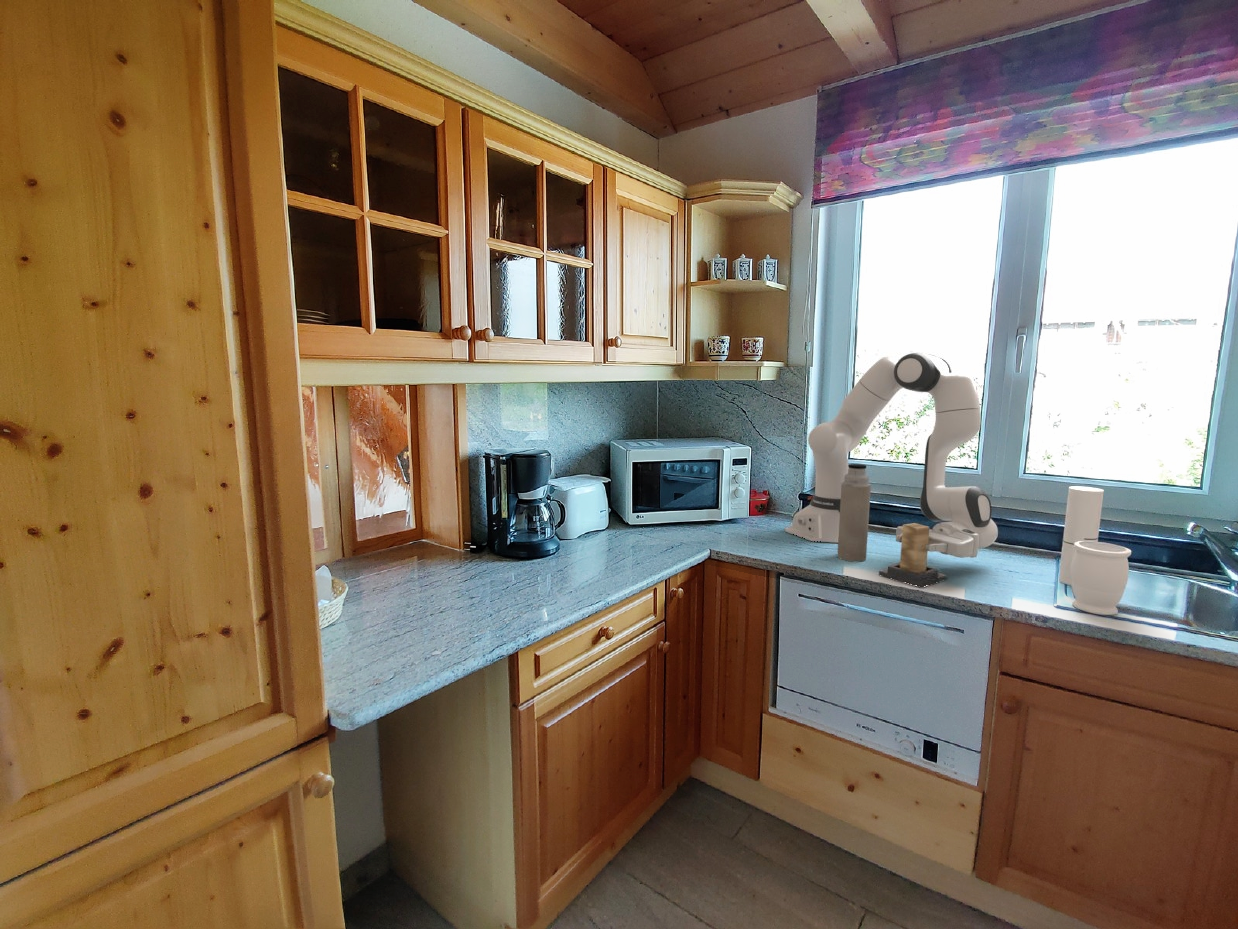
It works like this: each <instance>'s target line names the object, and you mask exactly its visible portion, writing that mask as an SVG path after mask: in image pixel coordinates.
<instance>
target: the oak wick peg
mask: <svg viewBox="0 0 1238 929" xmlns="http://www.w3.org/2000/svg"><path fill="white" fill-rule="evenodd" d="M902 526H903V530H902V543H901V545H900V546H901V548H900V560H899V563H900V568H901V569H904V570H908V571H911V572H915V573H922V572H925V571H926V566H927V562H928V552H929V551H927V550H926V544H928V539H929V529H930V526H928V525H924V524H920V523H917V522H913V523H912V522H911V523H906V524H902Z"/></svg>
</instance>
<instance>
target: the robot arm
mask: <svg viewBox="0 0 1238 929" xmlns="http://www.w3.org/2000/svg"><path fill="white" fill-rule="evenodd" d="M901 389H905V390H909V391H913V392H915V393H916V392H917V393H928V394H930V395H931V397H932V399H933V402H934V409H935V410H934V411H935V421H934V427H933V430H932V433H931V434H930V435H929V436H928V438H927V440H926V445H925V454H924V464H923V465H924V467H923V482H922V483H923V484H922V490H921V494H920V499H919V509H920V510H921V512H922V514H923V515H924V516H925V517H926V519H928V520H929V521H931V522H934V523H936V524H935V525H934V526H933V527H932V529H931V528H929V539H928V544H926V550H927V551H928V552H930V553H932V552H939V553H941V554H942V555H945V556H946V555H949V556H953V557H954V558H955V557H956V558H962V559H963V558H971V559H974V558H977V556H978V551H979V550H981V549H984V548H987V547H989V546H991V545H992V544H994V542H995V541H996V540H997V538H998V534H999V530H998V526H997V524H996V523H995V521H994V520H993V519H992V510H993V508H992V503H991V500H990V498H989V496H988V494H987V493H986V492H985V491H984V490H983V489H982V488H981V487H978V486H975V485H974V486H971V485H970V486H955V487H954V486H950V487H949V486H948V487H946V485H945V479H946V468H947V467H946V465H947V460H948V459H947V458H948V456H949V455H950V454H951V453H952V452H953V451H954V450H955V449H957V448H959V447H960V446H962V445H964V444H967V443H968V442H969V441H971V440H972V439H973V438H974V437H975V436H976V435H977V434H978V432H979V431H980V428H981V424H982V416H981V407H980V406H981V405H980V399H979V395H978V394H979V393H978V389H977V387H976V383H975V380H974V378H973V376H971V375H970V374H968V373H966V372H961V371H956V372H953V371H952V368H951V366H950V364H949V363H948V362H947V360H945V359H944V358H941V357H938V356H936V355H933V354H929V353H923V352H921V353H920V352H913V353H908V354H905V355H904V356H901V358H900V359H898V358H895V357H892V356H884V357H881V358H879V359H878V360H877V361H876V362H875V363H874V364H873V365H872V366H871V367H870V368H869V369H868V370H867V371H866V372H865V373H864V374H863V375H862V377H860V379H859V380H858V381H857V382H856V383H855V385H854V386H853V388H852V389H851V390H850V392H849V393H848V394H847V395H846V396H845V398H844V399H843V402H842V405H841V407H840V409H839V411H838V413H837V414H836V416H835V417H834V418H833V419H832V420H831V421H825V422H822V423H820V424H818V425H817V426H815V427H813V429H812V430H811V431H810V433H809V435H808V440H807V441H808V442H807V443H808V446H809V448H810V449H811V451H812V455H813V461H814V466H815V467H814V468H815V489H814V494H812V495H809V496H807V501H808V500H809V501H810V503H809V505H807V506H805V507H804V508H802V509H801V510H800V511H797V512H796V513H795V514H794V516H793V519H792V521H791V522H792V524H791V525H790V526H787V527H785V529H784V532H785V533H788V534H791V535H793V534H794V535H793V536H796V535H797V536H796V537H800V538H802V537H803V538H802V539H804V538H805V539H804V540H806V541H810V542H814V541H815V542H817V541H818V543H820V541H821V542H822V543H823V542H824V543H837V544H838V537H839V520H840V503H841V486H842V482H844V478H845V475H846V474H848V469H849V467H848V465H849V460H848V453H849V452H851V451H853V450H855V449H856V448H857V447H858V446H859V445H860V443H861V441H862V439H863V438H864V436H865V435H866V434H867V431H868V430H869V428H870V426H872V423H873V422H874V420H875V419H876V418H877V417H878V415H879V414H881V412H882V410H884V409H885V407H886V406H887V405H888V404H889V403H890V401H891V400H892V399H893V398H894V396H895V395H896V394H897V393H898V392H899V391H900V390H901ZM938 522H939V523H938ZM902 530H903V525H901V526H900V525H899V526H897V527H896V532H895V541H896V542H897V543H901V544H902ZM815 542H814V543H815Z"/></svg>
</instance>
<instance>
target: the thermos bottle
mask: <svg viewBox="0 0 1238 929" xmlns="http://www.w3.org/2000/svg"><path fill="white" fill-rule="evenodd" d="M848 467H849V469H848V474H846V475H845V478H844V482H842V486H841V503H840V520H839V537H838V543H837V558H838V559H840V558H841V559H840V560H842V559H843V561H846V562H854V561H860V562H864V561H866V560H867V552H868V536H869V522H870V521H869V520H870V519H869V518H870V505H871V490H872V489H871V488H872V487H871V486H872V484H871V483H869V481H870V478H869V476H868V475H867V470H866V469H867V464H866V465H865V464H861V463H850V464H849V463H848Z"/></svg>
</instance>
